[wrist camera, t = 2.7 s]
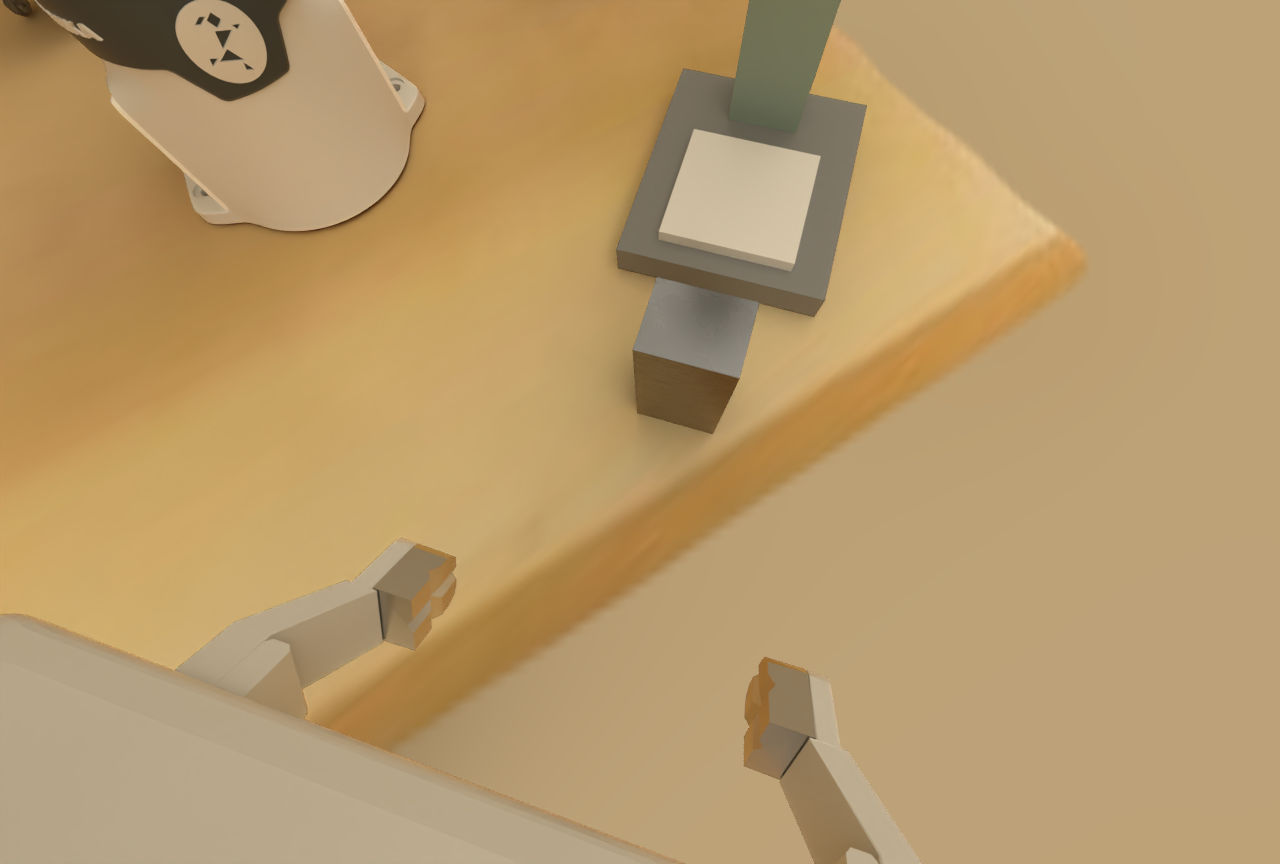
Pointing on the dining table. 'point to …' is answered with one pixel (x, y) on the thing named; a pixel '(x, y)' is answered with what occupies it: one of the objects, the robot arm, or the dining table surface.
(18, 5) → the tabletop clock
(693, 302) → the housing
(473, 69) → the dining table surface
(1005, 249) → the dining table surface
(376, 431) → the dining table surface
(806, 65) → the press
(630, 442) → the dining table surface
